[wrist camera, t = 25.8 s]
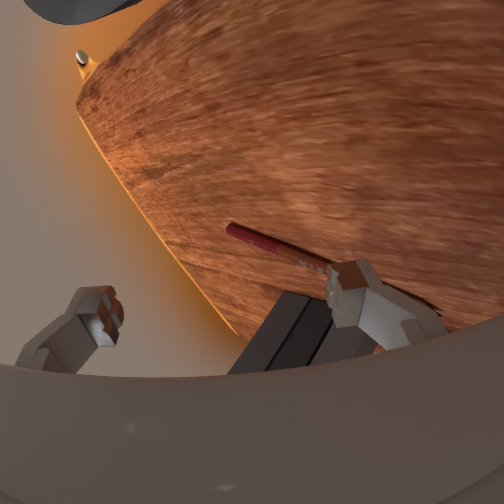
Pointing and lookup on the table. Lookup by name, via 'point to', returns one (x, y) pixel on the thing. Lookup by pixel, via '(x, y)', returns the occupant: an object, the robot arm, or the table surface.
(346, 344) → the grey books
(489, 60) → the table surface
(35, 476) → the robot arm
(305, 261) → the pencil
